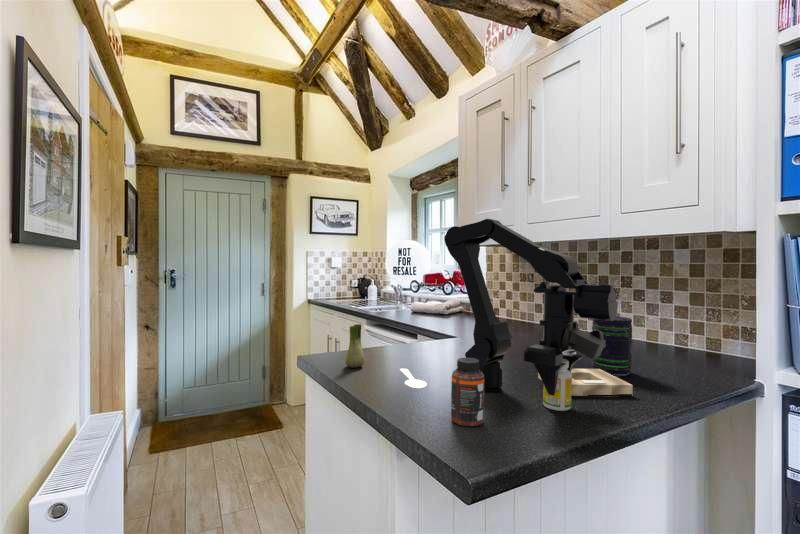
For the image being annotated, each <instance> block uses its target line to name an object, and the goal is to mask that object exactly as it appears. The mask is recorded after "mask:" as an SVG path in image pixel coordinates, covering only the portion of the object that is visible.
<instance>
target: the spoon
mask: <svg viewBox="0 0 800 534" xmlns="http://www.w3.org/2000/svg"><path fill="white" fill-rule="evenodd" d="M399 371H400V372H401V373H402V374H403V375H404V376H405V377H406V378H407V379H406V380H405V381H404V385H405V386H406V387H409V388H411V389H412V388H413V389H418V390H419V389H425V388H427V386H428V383H427V382H426V380H422V379H416V378H415V377H414V376H413V374H412V373H411V371H410V370H409V369H408V368H407V367H406V368H403V367H402V368H399Z"/></svg>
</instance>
